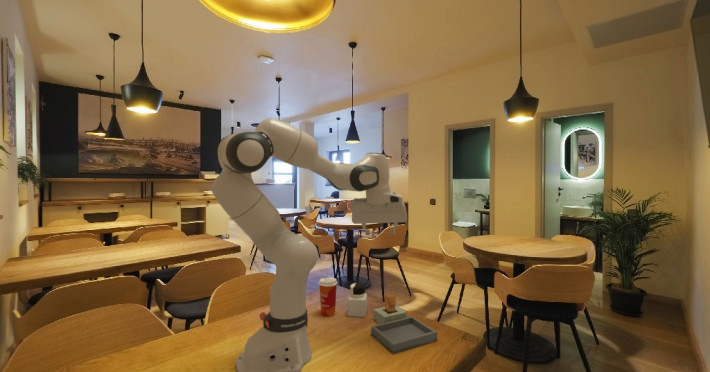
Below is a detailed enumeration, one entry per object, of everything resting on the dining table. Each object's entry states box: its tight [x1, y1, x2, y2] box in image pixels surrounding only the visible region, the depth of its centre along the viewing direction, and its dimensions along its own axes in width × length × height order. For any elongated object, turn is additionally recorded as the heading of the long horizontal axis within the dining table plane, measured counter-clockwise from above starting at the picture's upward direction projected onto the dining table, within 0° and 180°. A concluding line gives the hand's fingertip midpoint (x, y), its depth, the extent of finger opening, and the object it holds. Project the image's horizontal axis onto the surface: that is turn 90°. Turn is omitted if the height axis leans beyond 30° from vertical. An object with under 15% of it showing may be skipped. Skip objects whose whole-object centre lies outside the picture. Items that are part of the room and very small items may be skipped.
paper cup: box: [318, 276, 338, 318], centre depth 132 cm, size 8×8×14 cm
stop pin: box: [384, 293, 397, 314], centre depth 125 cm, size 3×3×10 cm
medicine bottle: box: [347, 282, 368, 318], centre depth 132 cm, size 7×7×12 cm
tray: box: [370, 315, 438, 355], centre depth 113 cm, size 18×14×3 cm
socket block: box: [373, 305, 408, 324], centre depth 125 cm, size 10×8×4 cm
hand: (380, 234), depth 118 cm, fingers open, 8 cm apart
